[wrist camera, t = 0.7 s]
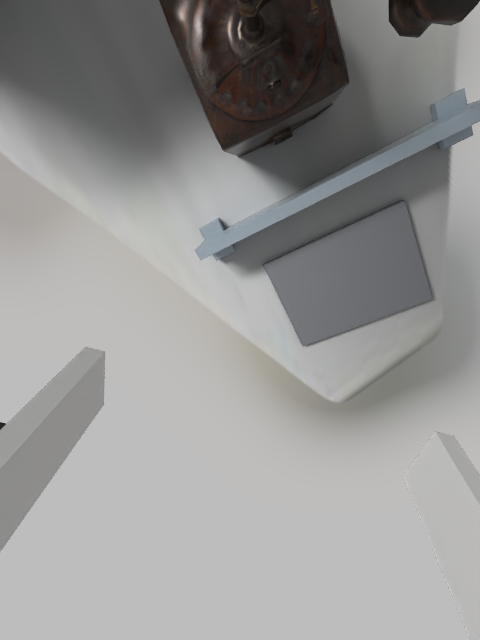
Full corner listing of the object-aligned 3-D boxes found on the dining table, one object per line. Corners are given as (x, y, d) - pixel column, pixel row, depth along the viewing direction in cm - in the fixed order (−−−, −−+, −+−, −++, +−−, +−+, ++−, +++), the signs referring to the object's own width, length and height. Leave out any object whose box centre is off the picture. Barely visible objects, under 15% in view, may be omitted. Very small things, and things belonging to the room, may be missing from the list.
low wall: (198, 228, 36) (187, 237, 32) (461, 88, 28) (496, 73, 24) (215, 259, 37) (207, 271, 33) (470, 134, 29) (505, 128, 25)
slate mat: (263, 264, 37) (263, 265, 36) (402, 199, 32) (404, 200, 32) (302, 344, 41) (302, 346, 41) (430, 297, 37) (432, 299, 36)
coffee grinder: (238, 165, 33) (200, 163, 17) (187, 45, 29) (73, -110, 13) (389, 85, 29) (535, -22, 12) (354, -69, 25) (501, -517, 8)
